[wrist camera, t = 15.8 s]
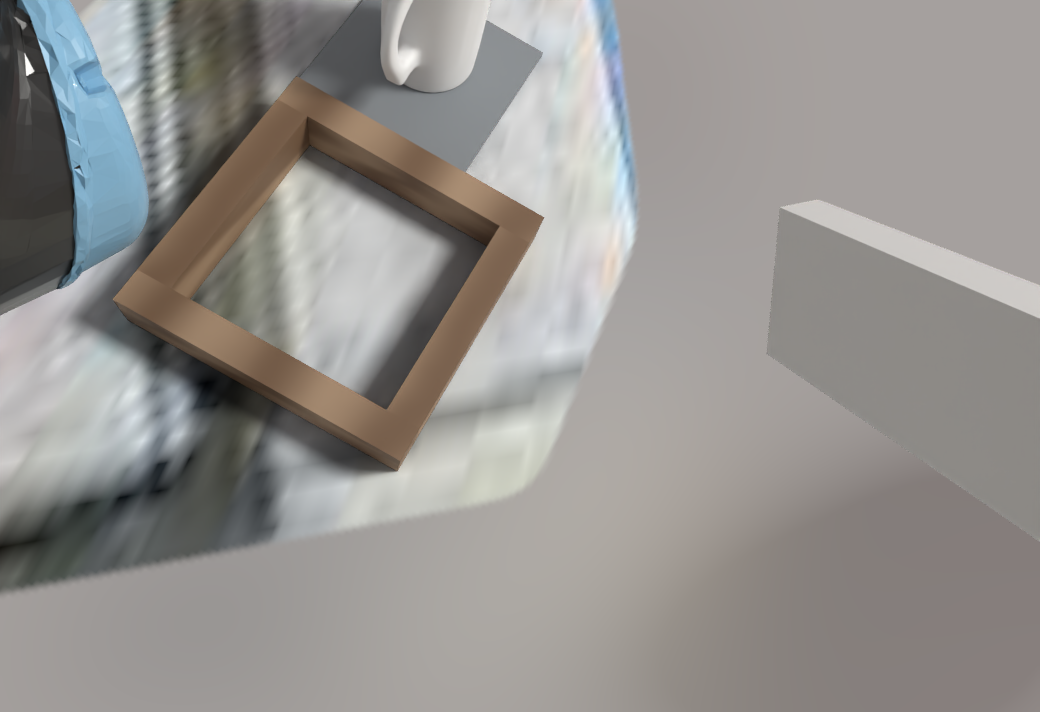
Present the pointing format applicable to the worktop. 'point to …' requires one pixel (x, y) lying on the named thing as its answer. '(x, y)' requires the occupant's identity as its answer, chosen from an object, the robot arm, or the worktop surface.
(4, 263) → the robot arm
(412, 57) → the mug
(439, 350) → the walnut collar
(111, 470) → the worktop surface
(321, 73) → the rubber mat
